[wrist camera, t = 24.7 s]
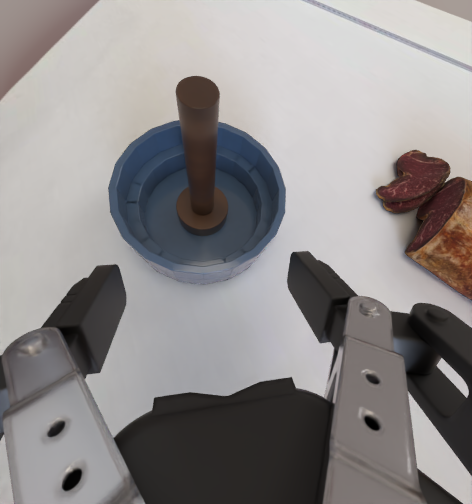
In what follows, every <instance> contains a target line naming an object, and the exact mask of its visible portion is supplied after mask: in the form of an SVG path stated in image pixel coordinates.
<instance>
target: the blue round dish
mask: <svg viewBox="0 0 472 504" xmlns="http://www.w3.org/2000/svg"><path fill="white" fill-rule="evenodd" d="M187 187H189V185H188V178H187V171H186V163H185V156H184V149H183V141H182V134H181V127H180V120H178V121H173V122H170V123H167V124H164V125H161V126H158V127H155V128H152V129H150V130H149V131H147V132H146V133H145V134H143V135H142V136H140V137H139V138H138V139H136V140H135V141H133V142H132V143H131V144H130V145H129V146H128V147H127V149H126V150H125V151H124V153H123V154H122V155H121V157H120V158H119V159H118V161H117V162H116V164H115V167H114V170H113V174H112V177H111V180H110V184H109V187H108V190H109V202H110V213H111V215H112V217H113V219H114V221H115V223H116V225H117V227H118V229H119V231H120V234H121V236H122V237H123V239H124V240H125V241H126V242H127V243H128V244H129V245H130V246H131V247H132V248H133V249H134V250H135V251H136V252H137V253H138V254H139V255H140V256H141V257H142V258H143V259H144V260H145V261H147V262H148V263H149V264H150V265H151V266H152V267H153V268H154V269H155V270H156V271H157V272H159V273H162V274H164V275H166V276H168V277H170V278H173V279H175V280H177V281H180V282H187V283H196V284H209V283H214V282H219V281H224V280H228V279H230V278H232V277H234V276H235V275H237V274H239V273H241V272H242V271H244V270H246V269H248V268H249V267H250V266H251V265H252V264H253V262H254V261H255V260H256V259H257V258H258V257H259V256H260V255H261V253H262V252H263V251H264V250H265V248H266V247H267V246H268V245H269V243H270V242H271V241H272V239H273V238H274V237H275V235H276V234H277V231H278V229H279V226H280V224H281V221H282V219H283V216H284V214H285V198H286V189H285V185H284V182H283V179H282V176H281V173H280V170H279V167H278V165H277V164H276V162H275V161H274V160H273V158H272V157H271V155H270V154H269V153H268V151H267V150H266V148H265V147H263V146H262V145H261V144H260V143H258V142H257V141H256V140H255V139H253V138H252V137H251V136H250V135H248V134H247V133H246V132H244V131H241V130H239V129H237V128H234V127H232V126H230V125H228V124H225V123H221V122H218V135H217V154H216V172H215V187H217V188H218V189H219V190H221V191H222V192H223V194H224V195H225V197H226V199H227V202H228V213H227V218H226V222H225V224H224V226H223V227H222V228H221V229H220V230H219V231H218V232H216V233H214V234H212V235H208V236H198V235H194V234H192V233H190V232H188V231H187V230H186V229H185V228H184V227H183V226H182V225H181V223H180V220H179V217H178V213H177V209H176V203H177V199H178V197H179V195H180V194H181V192H182V191H183V190H184V189H186V188H187Z"/></svg>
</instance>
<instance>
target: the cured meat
mask: <svg viewBox="0 0 472 504" xmlns="http://www.w3.org/2000/svg"><path fill="white" fill-rule="evenodd" d="M397 173H398V175H399V177H398V178H397V179H395V180H394V181H392V182H391V183H390V184H389V185H388V186H381V187H379V188H378V189H376V194H377V196H378V197H379V198H381V199H383V200H384V201H383V207H384V208H385V209H386V210H388V211H391V212H393V213H404V212H408V211H411V210H414V209H416V208H418V207H420V208H419V210H418V212H417V218H419V219H421V220H423V221H424V222H423V223H422V225H421V227H420V228H419V230H418V232H417V234H416V236H415V239H414V240H413V241H412V242H411V243H410V244H409V246H408V247H407V249H406V251H405V254H406V255H407V256H409V257H410V258H411V259H413V260H414V261H416V262H417V263H419V264H420V265H422V266H423V267H425V268H426V269H428V270H429V271H431V272H432V273H433V274H435V275H436V276H437V277H439V278H440V279H441V280H443V281H444V282H445V283H447V284H448V285H449V286H451V287H452V288H454V289H455V290H457V291H458V292H460V293H461V294H463V295H464V296H466V297H468V298H469V299H471V300H472V181H470V180H467V179H464V178H462V177H456V178H453V179H450V180H449V181H447V182H446V183H444V182H445V181H446V179H447V178H448V177H449V174H450V166H449V164H448V163H447V162H445V161H444V160H442V159H440V158H434V157H427V156H426V153H422V152H420V151H418V150H412V151H410V152H407V153H405V154H404V155H402V156H401V157H400V158H399V159H398V161H397Z"/></svg>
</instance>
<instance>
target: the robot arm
mask: <svg viewBox="0 0 472 504" xmlns="http://www.w3.org/2000/svg"><path fill="white" fill-rule="evenodd" d="M287 283H288V288H289V291H290V293H291V294H292V296H293V298H294V300H295V301H296V303H297V305H298V306H299V308H300V310H301V312H302V313H303V315H304V317H305V319H306V320H307V322H308V324H309V325H310V327H311V329H312V331H313V332H314V334H315V336H316V337H317V339H318V341H319V343H326V342H331V343H332V345H333V347H334V350H333V354H332V360H331V365H330V370H329V375H328V380H327V385H326V390H325V394H324V397H322V396H319V395H317V394H315V393H312V392H310V391H306V390H302V389H297V388H296V387H295V385H294V382H293V380H292V377H290V378H283V379H277V380H270V381H263V382H259V383H257V384H254V385H252V386H250V387H248V388H245V389H243V390H241V391H238V392H236V393H234V394H232V395H229V396H218V395H209V394H200V393H191V392H189V393H183V394H176V395H169V396H162V397H156V398H154V403H153V409H152V411H150V412H148V413H146V414H144V415H142V416H140V417H139V418H137V419H136V420H134V421H133V422H131V423H130V424H129V425H127V426H126V427H125V428H124V429H123V430H121V431H120V432H119V433H118V434H117V435H116V436H115V437H114V438H113V437H112V435H111V433H110V431H109V429H108V427H107V425H106V423H105V421H104V418H103V416H102V414H101V412H100V410H99V408H98V406H97V404H96V402H95V400H94V398H93V396H92V394H91V392H90V390H89V388H88V386H87V384H86V382H85V378H86V375H87V374H93V373H100V371H101V369H102V366H103V364H104V361H105V358H106V356H107V353H108V351H109V348H110V345H111V343H112V340H113V338H114V335H115V332H116V330H117V327H118V325H119V322H120V319H121V317H122V314H123V312H124V309H125V306H126V292H125V288H124V284H123V281H122V277H121V273H120V269H119V267H118V265H116V264H115V265H100V266H96V268H95V269H94V270H93V272H92V273H91V275H90V276H89V277H88V278H83V279H82V280H81V281H79V282H78V283H76V284H75V285H73V287H72V288H71V289H70V290H69V292H68V293H67V296H65V297H64V298H63V300H62V301H61V304H59V305H58V306H57V307H56V309H55V310H54V311H53V313H52V314H51V315H50V317H49V318H48V319H47V321H46V322H45V323H44V324H43V326H42V327H41V328H40V329H36V330H33V331H31V332H28V333H26V334H24V335H23V336H21V337H19V338H18V339H16V340H15V341H14V342H12V343H11V344H10V345H9V346H8V347H7V348H6V350H5V351H4V353H3V355H1V356H0V440H1V438H2V437H3V435H5V442H6V449H7V456H8V463H9V470H10V477H11V484H12V491H13V498H14V504H463V503H461V502H460V501H459V500H458V499H456V498H455V497H454V496H452V495H451V494H450V493H449V492H447V491H446V490H445V489H443V488H442V487H441V486H439V485H438V484H437V483H436V482H434V481H433V480H432V479H430V478H429V477H428V476H427V475H425V474H424V473H423V472H421V471H420V470H419V469H418V468H417V463H416V455H415V447H414V438H413V430H412V422H411V414H410V405H409V397H408V392H409V393H410V394H411V396H412V397H413V398H414V400H415V401H416V402H417V404H418V405H419V406H420V408H421V409H422V410H423V412H424V413H425V414H426V416H427V417H428V418H429V420H430V421H431V422H432V424H433V425H434V426H435V428H436V429H437V430H438V432H439V433H440V434H441V436H442V437H443V438H444V440H445V441H446V442H447V444H448V445H449V446H450V448H451V449H452V450H453V452H454V453H455V454H456V456H457V457H458V458H459V460H460V461H461V462H462V464H463V465H464V466H465V467H466V469H467V470H468V471H469V473H470V474H471V475H472V328H471V327H469V326H468V325H467V324H465V323H464V322H463V321H462V320H460V319H459V318H458V317H456V316H455V315H454V314H452V313H451V312H449V311H447V310H445V309H443V308H441V307H439V306H436V305H432V304H428V303H418V304H415V305H414V306H413V307H412V309H411V312H410V314H407V313H400V312H392V311H390V310H389V309H388V308H387V307H386V306H385V305H384V304H383V303H381V302H379V301H378V300H375V299H373V298H370V297H365V296H358V295H357V294H356V293H355V292H354V291H353V290H352V289H351V288H350V287H349V286H348V285H347V284H346V283H345V282H344V281H343V280H342V279H341V278H340V277H339V276H338V275H337V274H336V273H335V271H334V270H333V269H332V268H331V267H330V266H329V265H327V264H325V263H323V262H322V261H320V260H316V259H315V258H314V257H313V255H312V254H311V253H310V252H309V251H302V252H293V253H292V254H291V257H290V264H289V271H288V279H287ZM441 358H443V359H444V360H445V361H446V362H447V363H448V364H449V365H450V366H451V367H452V368H453V369H454V370H455V371H456V372H457V373H458V374H459V375H460V376H461V377H462V378H463V379H464V381H465V382H466V384H467V386H468V389H469V395H468V397H467V398H466V397H465V396H464V395H463V394H462V393H461V392H460V390H459V389H458V388H457V387H456V386H455V385H454V384H453V383H452V382H451V381H450V380H449V379H448V378H447V377H446V376H445V375H444V374H443V373H442V371H441V370H440V369H439V368H438V367H437V366H436V365H437V364H438V362H439V361H440V359H441Z"/></svg>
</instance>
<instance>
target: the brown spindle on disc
mask: <svg viewBox="0 0 472 504" xmlns="http://www.w3.org/2000/svg"><path fill="white" fill-rule="evenodd" d="M176 98H177V105H178V112H179V120H180V127H181V134H182V141H183V149H184V156H185V163H186V171H187V178H188V185H189V187H187V188H186V189H184V190H183V191H182V192H181V194H180V195H179V197H178V199H177V203H176V209H177V213H178V217H179V220H180V223H181V225H182V226H183V227H184V228H185V229H186V230H187V231H188V232H190V233H192V234H194V235H198V236H208V235H212V234H214V233H216V232H218V231H219V230H220V229H221V228H222V227H223V226H224V224H225V222H226V218H227V213H228V202H227V199H226V197H225V195H224V194H223V192H222V191H221V190H219V189H218V188H217V187H215V172H216V154H217V135H218V116H219V98H220V93H219V89H218V87H217V86H216V84H215V83H214V82H212V81H211V80H209V79H207V78H205V77H201V76H191V77H187V78H184V79H183V80H181V81H180V82H179V83H178V85H177V87H176Z"/></svg>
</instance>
